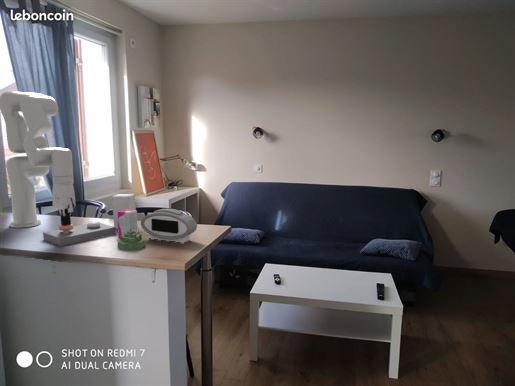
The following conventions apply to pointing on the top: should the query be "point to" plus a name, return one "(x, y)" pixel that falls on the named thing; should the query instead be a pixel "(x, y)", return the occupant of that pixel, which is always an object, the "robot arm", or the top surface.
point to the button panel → (78, 234)
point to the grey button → (93, 224)
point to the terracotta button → (66, 228)
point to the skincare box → (122, 205)
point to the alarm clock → (169, 225)
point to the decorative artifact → (131, 241)
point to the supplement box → (127, 221)
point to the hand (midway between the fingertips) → (66, 224)
